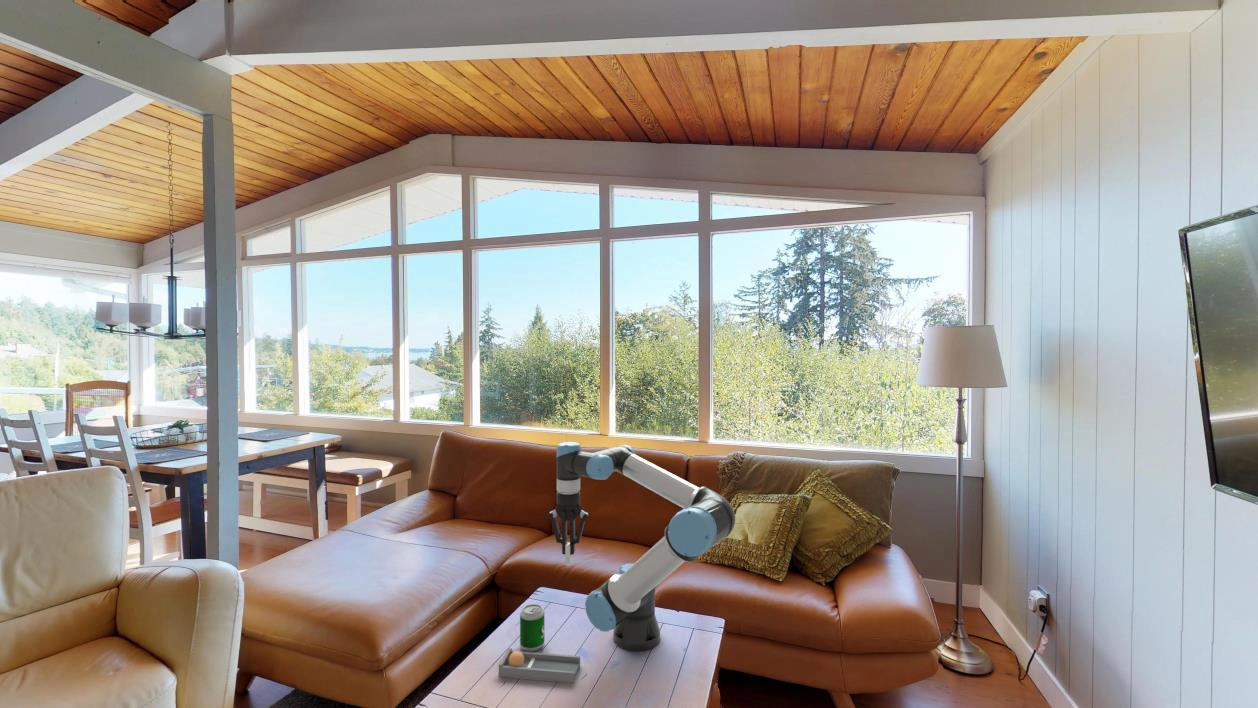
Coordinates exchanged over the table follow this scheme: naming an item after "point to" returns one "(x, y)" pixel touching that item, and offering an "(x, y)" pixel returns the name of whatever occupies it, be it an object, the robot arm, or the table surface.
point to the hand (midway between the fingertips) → (568, 563)
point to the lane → (541, 667)
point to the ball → (516, 659)
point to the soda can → (532, 627)
